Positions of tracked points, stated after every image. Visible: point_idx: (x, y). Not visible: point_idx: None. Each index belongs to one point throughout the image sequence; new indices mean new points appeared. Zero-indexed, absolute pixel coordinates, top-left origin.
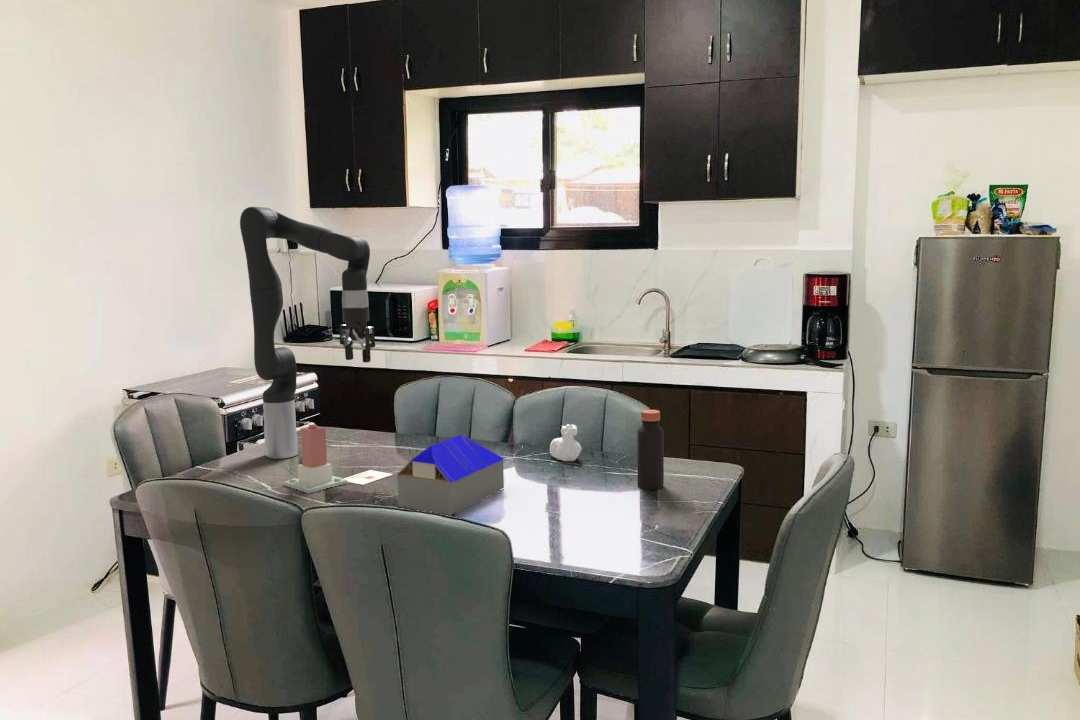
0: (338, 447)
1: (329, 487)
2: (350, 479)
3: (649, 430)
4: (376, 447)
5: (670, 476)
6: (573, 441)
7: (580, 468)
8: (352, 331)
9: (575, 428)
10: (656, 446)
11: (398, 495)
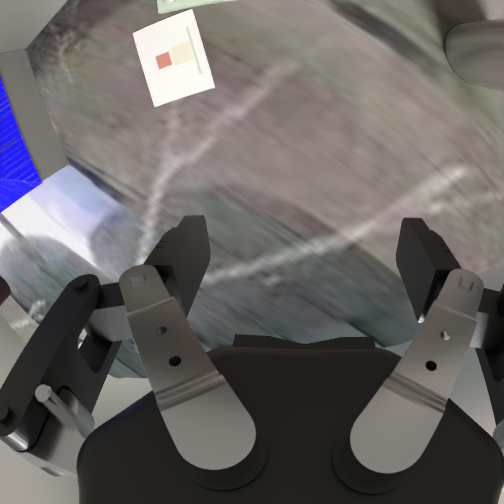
0: (439, 165)
1: None
2: (178, 26)
3: None
4: (375, 210)
5: (23, 315)
6: (80, 336)
7: None
8: (251, 433)
9: None
10: None
11: (14, 51)
